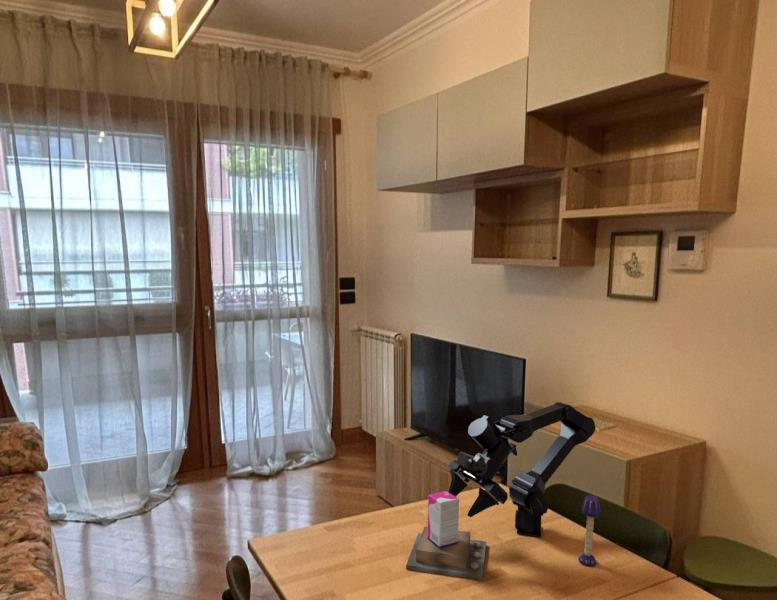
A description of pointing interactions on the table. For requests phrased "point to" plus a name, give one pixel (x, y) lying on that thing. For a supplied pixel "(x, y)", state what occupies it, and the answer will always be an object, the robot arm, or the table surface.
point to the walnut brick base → (450, 569)
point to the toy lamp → (589, 528)
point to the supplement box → (443, 519)
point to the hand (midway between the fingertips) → (457, 508)
